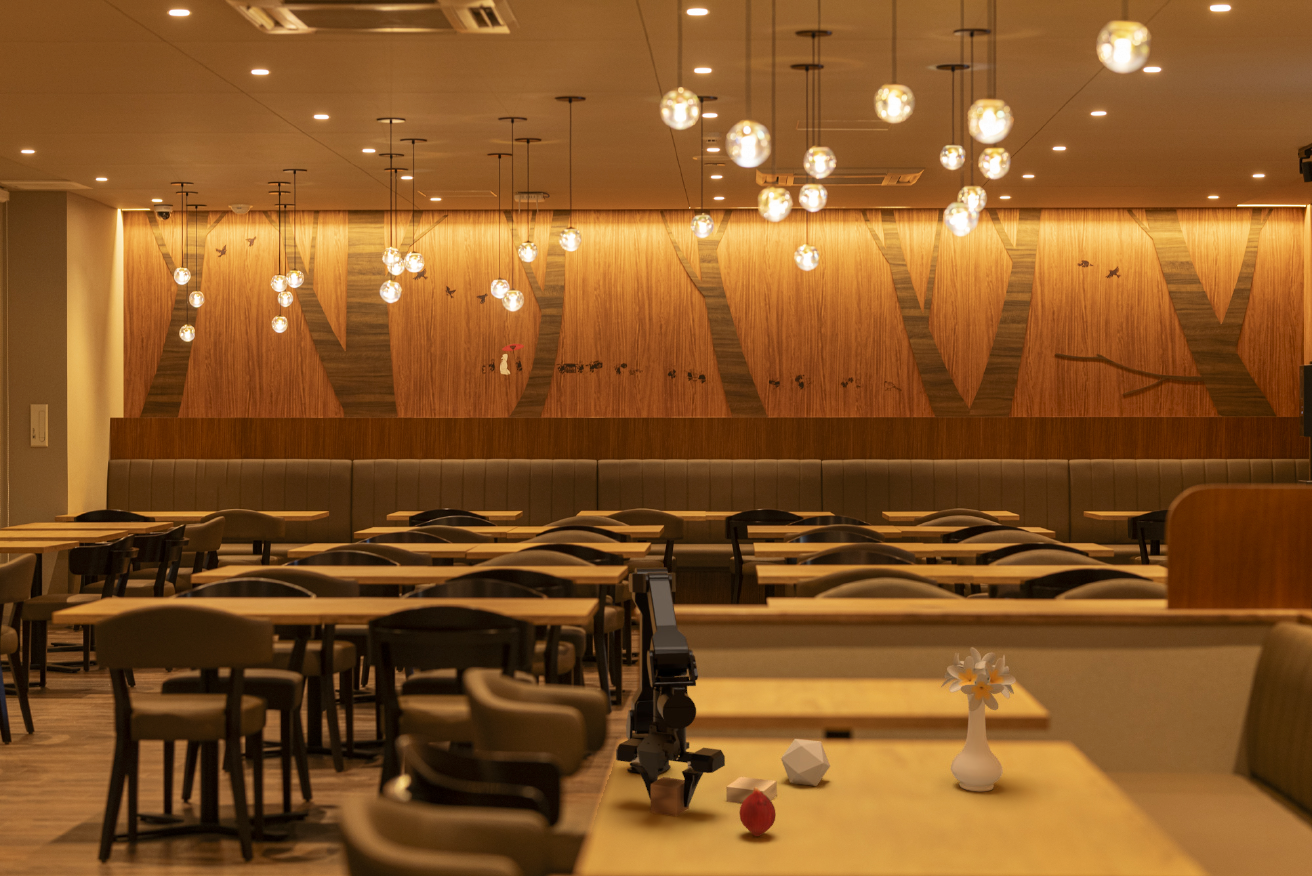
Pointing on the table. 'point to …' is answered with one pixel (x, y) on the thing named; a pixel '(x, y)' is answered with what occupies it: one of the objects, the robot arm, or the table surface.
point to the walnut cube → (668, 796)
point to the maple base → (750, 788)
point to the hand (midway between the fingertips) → (669, 804)
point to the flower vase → (978, 716)
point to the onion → (757, 813)
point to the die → (805, 762)
